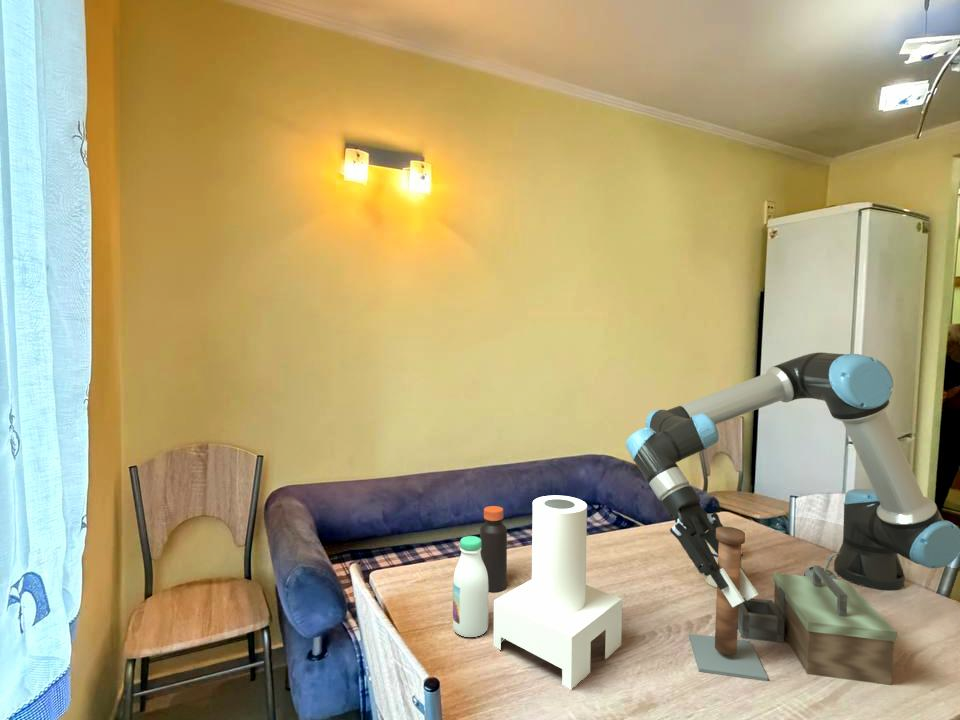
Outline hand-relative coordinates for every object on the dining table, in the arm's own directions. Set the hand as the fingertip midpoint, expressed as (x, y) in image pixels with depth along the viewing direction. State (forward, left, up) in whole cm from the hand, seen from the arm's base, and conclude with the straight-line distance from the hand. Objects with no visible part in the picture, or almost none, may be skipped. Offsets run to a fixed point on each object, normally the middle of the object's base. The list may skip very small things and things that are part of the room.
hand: (745, 600), depth 102 cm
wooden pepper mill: (+3, -3, -12) cm, 12 cm away
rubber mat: (+3, -3, -13) cm, 14 cm away
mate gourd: (-24, -30, -14) cm, 41 cm away
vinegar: (+54, -21, -14) cm, 59 cm away
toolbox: (-14, -11, -13) cm, 22 cm away
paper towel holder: (+36, +1, -14) cm, 38 cm away
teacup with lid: (-2, -36, -14) cm, 38 cm away
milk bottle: (+55, -1, -14) cm, 56 cm away
